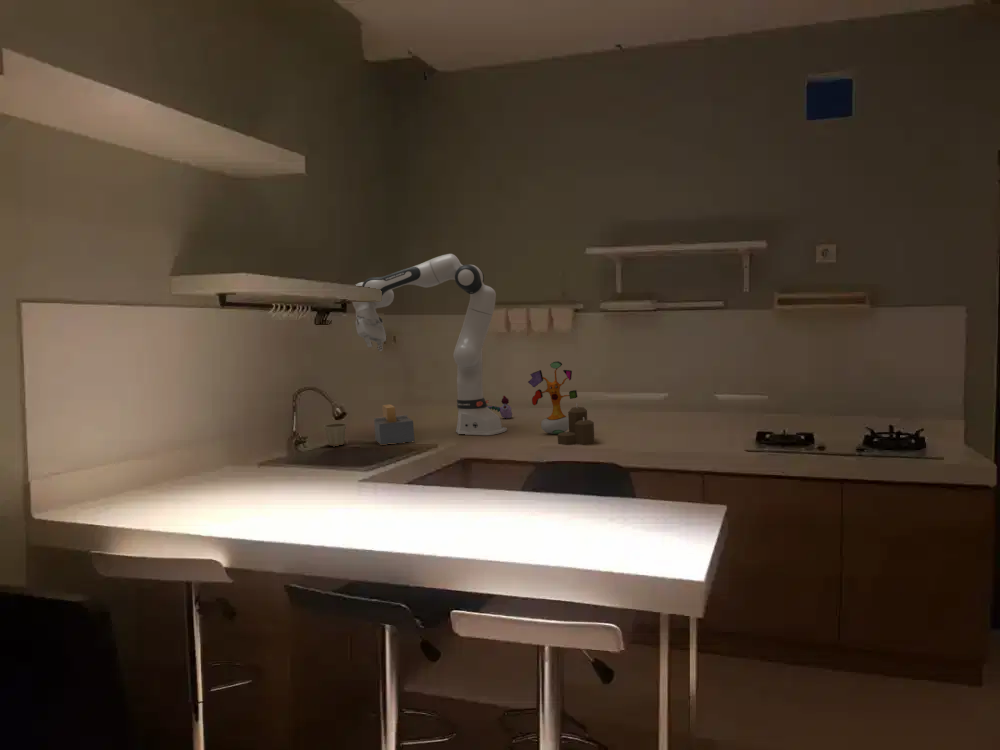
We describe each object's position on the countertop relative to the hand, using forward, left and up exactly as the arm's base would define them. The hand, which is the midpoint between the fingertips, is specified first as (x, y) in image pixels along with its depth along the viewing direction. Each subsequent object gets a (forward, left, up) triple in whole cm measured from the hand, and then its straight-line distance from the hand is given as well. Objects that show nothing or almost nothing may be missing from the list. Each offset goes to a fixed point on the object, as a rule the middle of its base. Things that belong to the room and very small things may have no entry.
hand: (375, 348), depth 360 cm
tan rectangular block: (-8, +2, -38) cm, 39 cm away
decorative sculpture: (-69, -30, -38) cm, 85 cm away
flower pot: (+4, +22, -38) cm, 45 cm away
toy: (-23, -53, -39) cm, 70 cm away
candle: (-87, -19, -38) cm, 96 cm away
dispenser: (-14, +7, -38) cm, 41 cm away
